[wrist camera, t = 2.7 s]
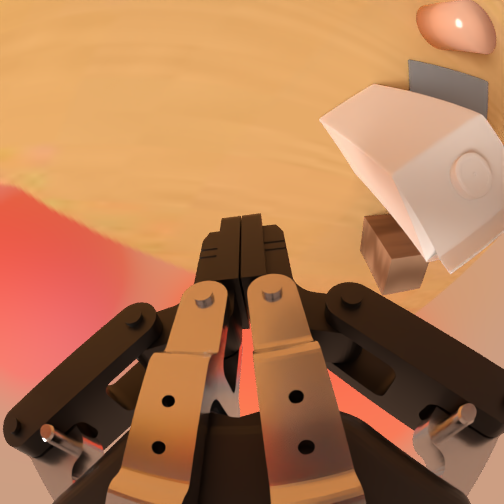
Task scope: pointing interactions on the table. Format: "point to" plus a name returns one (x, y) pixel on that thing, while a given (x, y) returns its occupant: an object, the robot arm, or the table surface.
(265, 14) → the table surface
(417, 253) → the wooden block
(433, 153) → the milk carton
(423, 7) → the pink rounded glossy part
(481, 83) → the mat
